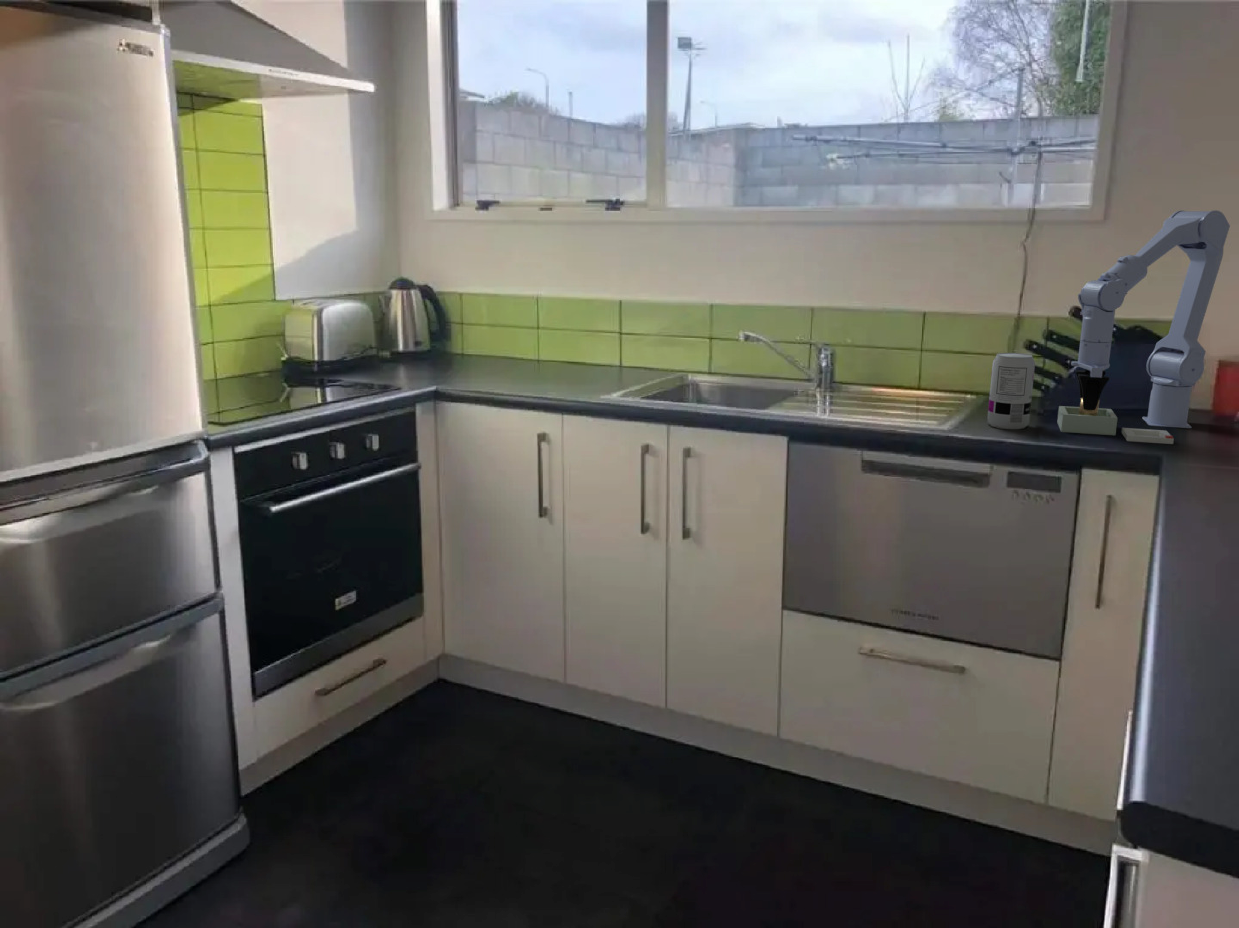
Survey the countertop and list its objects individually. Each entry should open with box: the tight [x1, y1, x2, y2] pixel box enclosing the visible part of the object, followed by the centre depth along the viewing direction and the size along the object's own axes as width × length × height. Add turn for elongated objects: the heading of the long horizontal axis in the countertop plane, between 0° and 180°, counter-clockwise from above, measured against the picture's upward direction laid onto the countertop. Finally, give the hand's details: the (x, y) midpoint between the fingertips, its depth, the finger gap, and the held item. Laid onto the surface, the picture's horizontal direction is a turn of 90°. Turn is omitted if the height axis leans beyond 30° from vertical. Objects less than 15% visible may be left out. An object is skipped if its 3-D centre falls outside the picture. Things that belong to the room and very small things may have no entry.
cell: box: [1079, 397, 1101, 416], centre depth 206 cm, size 4×4×6 cm
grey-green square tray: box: [1056, 405, 1118, 436], centre depth 207 cm, size 10×10×4 cm
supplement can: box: [986, 352, 1036, 430], centre depth 210 cm, size 8×8×15 cm
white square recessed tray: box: [1121, 427, 1175, 445], centre depth 199 cm, size 8×8×2 cm
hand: (1087, 407), depth 206 cm, fingers open, 4 cm apart
